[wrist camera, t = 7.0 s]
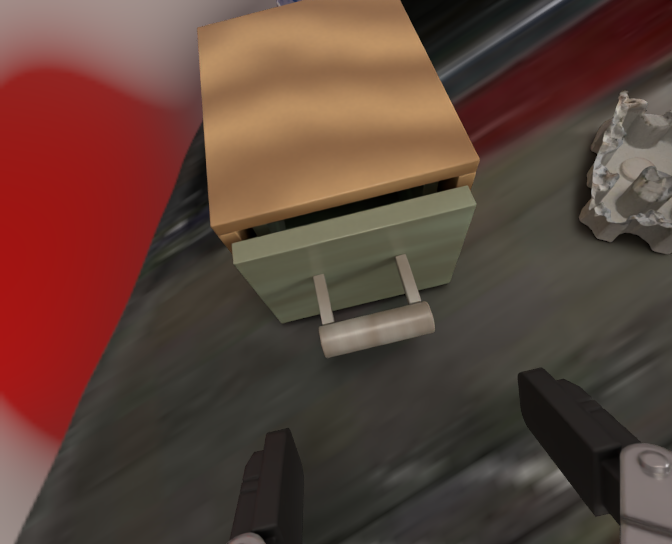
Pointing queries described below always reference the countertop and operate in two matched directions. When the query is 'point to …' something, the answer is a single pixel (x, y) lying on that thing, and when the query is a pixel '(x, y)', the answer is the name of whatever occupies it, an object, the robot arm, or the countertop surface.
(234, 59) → the cabinet
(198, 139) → the countertop surface
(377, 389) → the countertop surface
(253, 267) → the drawer
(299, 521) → the robot arm
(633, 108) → the egg carton
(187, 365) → the countertop surface
